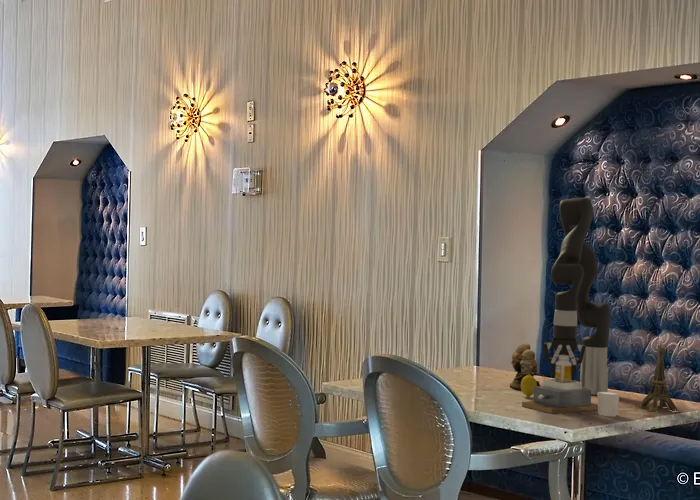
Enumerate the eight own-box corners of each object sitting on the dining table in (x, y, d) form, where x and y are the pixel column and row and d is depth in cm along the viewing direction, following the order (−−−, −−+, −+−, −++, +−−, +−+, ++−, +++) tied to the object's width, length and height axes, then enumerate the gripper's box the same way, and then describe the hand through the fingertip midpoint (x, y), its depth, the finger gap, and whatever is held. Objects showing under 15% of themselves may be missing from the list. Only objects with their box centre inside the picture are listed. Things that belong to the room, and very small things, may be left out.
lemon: (536, 398, 342) (537, 375, 342) (519, 397, 343) (520, 374, 343) (536, 396, 348) (537, 374, 348) (520, 395, 349) (521, 372, 349)
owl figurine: (546, 393, 358) (548, 346, 358) (514, 392, 359) (515, 345, 358) (537, 385, 376) (539, 341, 376) (506, 384, 377) (508, 340, 376)
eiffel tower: (650, 412, 323) (653, 336, 323) (636, 407, 334) (639, 333, 333) (680, 413, 325) (683, 337, 325) (665, 407, 335) (668, 334, 335)
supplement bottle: (572, 384, 326) (573, 354, 326) (570, 386, 321) (571, 356, 321) (555, 382, 328) (556, 353, 328) (553, 384, 323) (554, 355, 322)
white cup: (593, 412, 318) (594, 391, 318) (614, 413, 318) (615, 391, 318) (600, 416, 311) (601, 394, 311) (621, 417, 312) (622, 394, 311)
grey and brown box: (571, 403, 336) (572, 376, 336) (601, 409, 324) (602, 382, 324) (521, 406, 324) (523, 379, 324) (551, 413, 313) (552, 385, 312)
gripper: (587, 324, 326) (585, 375, 326) (543, 322, 329) (541, 372, 330) (587, 326, 319) (585, 378, 319) (542, 323, 322) (540, 375, 322)
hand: (563, 375), depth 324 cm, fingers closed on supplement bottle, 5 cm apart
